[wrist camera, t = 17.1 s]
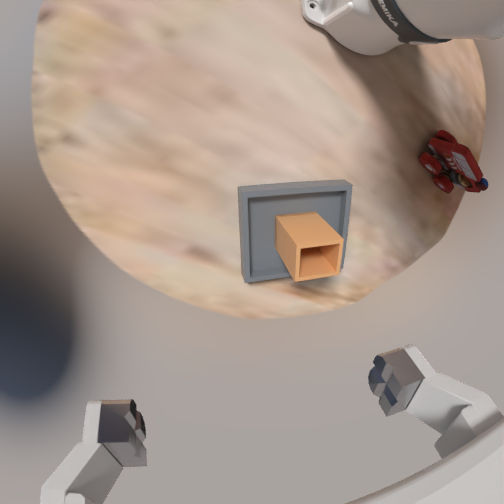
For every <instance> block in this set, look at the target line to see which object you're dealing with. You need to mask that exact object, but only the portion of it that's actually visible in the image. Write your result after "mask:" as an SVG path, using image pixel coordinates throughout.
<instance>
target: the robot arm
mask: <svg viewBox="0 0 504 504" xmlns="http://www.w3.org/2000/svg"><path fill="white" fill-rule="evenodd" d="M310 4H312V5H313V6H314V8H311V7H310ZM301 7H302V14H303V17H304V18H305V19H306V20H307V21H308V22H310V23H312V24H314V25H316V26H318V27H321V28H323V29H325V30H326V31H327V32H328V33H329V34H330V35H331V36H332V37H334V38H335V39H336V40H337V41H338V42H339V43H340V44H342V45H343V46H345V47H346V48H348V49H350V50H352V51H354V52H357V53H360V54H364V55H380V54H383V53H386V52H388V51H390V50H391V49H392V48H394V47H396V46H399V45H402V44H405V43H407V44H412V45H419V44H438V43H442V42H447V41H450V40H452V39H491V40H494V39H499V38H501V37H503V36H504V0H301ZM373 363H374V365H375V366H374V367H373V368H372V369H371V370H370V373H369V376H368V380H369V386H370V389H371V391H372V392H373V394H374V395H376V396H378V397H380V399H379V405H380V406H381V408H382V410H383V411H384V413H385V415H386V416H390V415H393V414H395V413H397V412H400V411H403V410H406V411H407V412H408V413H410V414H411V415H413V416H415V417H416V418H418V419H419V420H421V421H422V422H424V423H426V424H427V425H429V426H430V427H432V428H433V429H435V430H436V431H438V432H439V433H441V434H442V436H441V437H440V438H439V439H438V440H437V441H436V443H435V448H436V449H437V451H438V453H439V454H440V456H441V458H442V459H441V460H439V461H438V462H436V463H434V464H432V465H430V466H428V467H427V468H425V469H423V470H421V471H419V472H417V473H415V474H413V475H411V476H409V477H407V478H405V479H403V480H401V481H399V482H397V483H395V484H392V485H390V486H388V487H386V488H383V489H381V490H379V491H376V492H374V493H372V494H369V495H366V496H364V497H361V498H359V499H356V500H353V501H351V502H348V503H345V504H504V416H503V415H502V414H501V412H500V411H499V410H498V408H497V407H496V405H495V404H494V403H493V402H492V400H491V399H490V397H489V396H488V395H487V394H486V393H484V392H481V391H479V390H477V389H475V388H472V387H470V386H468V385H466V384H464V383H461V382H459V381H457V380H455V379H452V378H450V377H448V376H446V375H444V374H442V373H436V372H435V371H434V370H433V368H432V367H431V366H430V364H429V363H428V362H427V360H426V359H425V358H424V357H423V355H422V354H421V353H420V351H419V350H418V349H417V348H416V346H414V345H413V344H410V345H407V346H404V347H401V348H397V349H394V350H392V351H389V352H385V353H382V354H379V355H377V356H376V357H375V359H374V361H373ZM145 438H146V429H145V423H144V419H143V416H142V415H141V413H140V412H138V411H137V410H136V403H135V402H134V400H133V399H131V400H89V402H88V404H87V408H86V414H85V421H84V429H83V437H82V443H77V444H76V446H75V447H74V448H73V449H72V451H71V452H70V453H69V454H68V455H67V457H66V458H65V459H64V460H63V462H62V463H61V464H60V465H59V467H58V468H57V469H56V470H55V471H54V473H53V474H52V475H51V476H50V477H49V479H48V480H47V481H46V482H45V484H44V485H43V486H42V487H41V499H40V504H103V502H104V501H105V499H106V497H107V495H108V493H109V492H110V490H111V488H112V487H113V485H114V483H115V482H116V480H117V478H118V477H119V475H120V473H121V471H122V470H123V467H137V466H147V457H146V448H145V447H144V445H143V443H142V442H143V441H144V439H145Z"/></svg>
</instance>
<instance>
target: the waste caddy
mask: <svg viewBox="0 0 504 504" xmlns="http://www.w3.org/2000/svg"><path fill="white" fill-rule="evenodd" d="M343 242H344V239H343V238H342V237H341V236H340V235H339V234H338V233H337V232H336V231H335V230H334V229H333V228H332V227H331V226H330V225H329V224H328V223H327V222H326V221H325V220H324V219H323V218H322V217H321V216H320V215H319V214H318V213H317V212H316V211H315V212H305V213H294V214H284V215H275V249H276V250H277V252H278V254H279V255H280V257H281V259H282V261H283V262H284V264H285V266H286V268H287V269H288V271H289V273H290V274H291V276H292V278H293V280H294V281H295V282H298V281H304V280H310V279H316V278H322V277H329V276H335V275H339V273H340V266H341V258H342V250H343Z"/></svg>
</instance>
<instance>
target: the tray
mask: <svg viewBox="0 0 504 504" xmlns="http://www.w3.org/2000/svg"><path fill="white" fill-rule="evenodd" d="M351 194H352V184H350V183H349V182H347V181H346V180H325V181H307V182H291V183H277V184H264V185H252V186H241V187H238V204H239V226H240V248H241V268H242V276H243V279H244V282H245V283H249V282H256V281H263V280H270V279H277V278H283V277H290V276H291V274H290V273H289V271H288V269H287V268H286V266H285V264H284V262H283V261H282V259H281V257H280V255H279V254H278V252H277V250H276V249H275V215H284V214H294V213H305V212H315V211H316V212H317V213H318V214H319V215H320V216H321V217H322V218H323V219H324V220H325V221H326V222H327V223H328V224H329V225H330V226H331V227H332V228H333V229H334V230H335V231H336V232H337V233H338V234H339V235H340V236H341V237H342V238H343V239H344V242H343V250H342V258H341V266H340V269H342V268H343V264H344V257H345V249H346V241H347V233H348V224H349V215H350V205H351Z"/></svg>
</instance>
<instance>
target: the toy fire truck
mask: <svg viewBox="0 0 504 504" xmlns="http://www.w3.org/2000/svg"><path fill="white" fill-rule="evenodd" d="M428 146H429V148H430V149H431V150H432V154H433V156H431V155H430V154H428V153H423V154H422V155H421V156H420V158H419V161H420V163H421V164H422V165H423V167H424V168H426V169H427V170H428V171H429V172H431V173H433V174H435V175H434V177H433V182H434V183H435V184H436V185H437V186H438V187H439V188H440V189H441V190H442V191H444V192H446V193H450V192H451V191H452V190H453V188H454V185H453V183H454V184H455V185H456V186H458V187H460V188H462V189H464V190H466V191H468V192H480V191H481V190H482V191H484V190H486V189H487V188H488V182H487V180H486V179H485V178H482V177H483V174H482V172H481V170H480V168H479V166H478V164H477V162H476V160H475V158H474V157H473V155H472V153H471V151H470V149H469V148H467V147H466V146H464V145H461V144H458V143H457V140H456V139H455V138H454V137H453V136H452V135H451V134H450V133H448V132H447V131H445V130H439V131H438V133H437V134H436V138H431V140H430V141H429V143H428ZM437 159H438V160H439V161H438V160H437ZM440 163H441V164H440ZM442 166H443V168H444V169H445V171H442V173H440V171H441V170H442ZM452 182H453V183H452Z"/></svg>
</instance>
